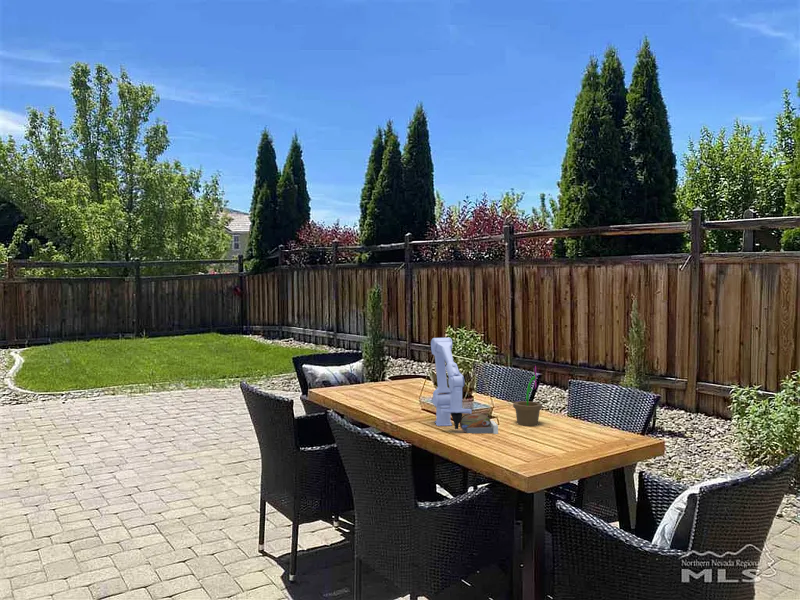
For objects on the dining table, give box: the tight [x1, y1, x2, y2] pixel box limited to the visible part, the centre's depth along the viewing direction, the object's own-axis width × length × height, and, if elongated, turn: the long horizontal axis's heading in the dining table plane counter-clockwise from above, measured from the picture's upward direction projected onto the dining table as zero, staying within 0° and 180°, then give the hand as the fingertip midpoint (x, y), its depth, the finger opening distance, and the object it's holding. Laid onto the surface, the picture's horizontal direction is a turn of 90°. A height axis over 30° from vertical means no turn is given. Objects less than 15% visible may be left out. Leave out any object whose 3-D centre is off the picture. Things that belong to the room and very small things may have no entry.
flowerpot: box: [512, 365, 543, 427], centre depth 300 cm, size 14×14×30 cm
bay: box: [466, 420, 499, 435], centre depth 284 cm, size 10×14×4 cm
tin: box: [459, 413, 492, 433], centre depth 284 cm, size 15×3×8 cm, turn 99°
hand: (456, 428), depth 283 cm, fingers closed
